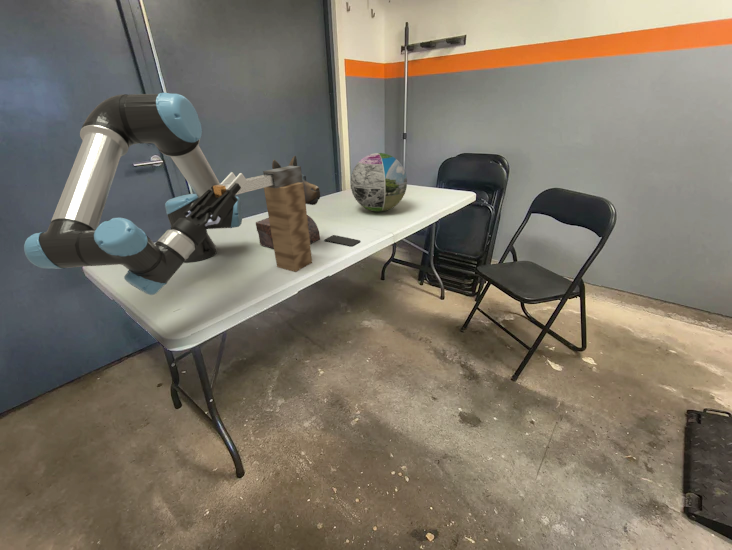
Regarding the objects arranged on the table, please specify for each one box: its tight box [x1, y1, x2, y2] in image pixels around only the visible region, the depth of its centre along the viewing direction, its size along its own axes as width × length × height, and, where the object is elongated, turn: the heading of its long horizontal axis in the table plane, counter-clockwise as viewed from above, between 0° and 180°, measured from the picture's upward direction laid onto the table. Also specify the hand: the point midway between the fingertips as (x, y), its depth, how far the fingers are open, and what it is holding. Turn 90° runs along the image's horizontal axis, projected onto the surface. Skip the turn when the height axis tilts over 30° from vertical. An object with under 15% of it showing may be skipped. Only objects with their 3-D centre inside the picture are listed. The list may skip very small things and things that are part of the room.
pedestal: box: [262, 165, 313, 273], centre depth 113 cm, size 12×9×34 cm
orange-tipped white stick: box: [213, 174, 275, 198], centre depth 96 cm, size 23×3×3 cm, turn 148°
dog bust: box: [255, 155, 321, 249], centre depth 130 cm, size 19×28×35 cm, turn 57°
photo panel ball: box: [350, 152, 408, 213], centre depth 174 cm, size 30×30×30 cm
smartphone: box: [323, 234, 361, 248], centre depth 140 cm, size 7×1×15 cm
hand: (239, 176), depth 92 cm, fingers closed on orange-tipped white stick, 3 cm apart
